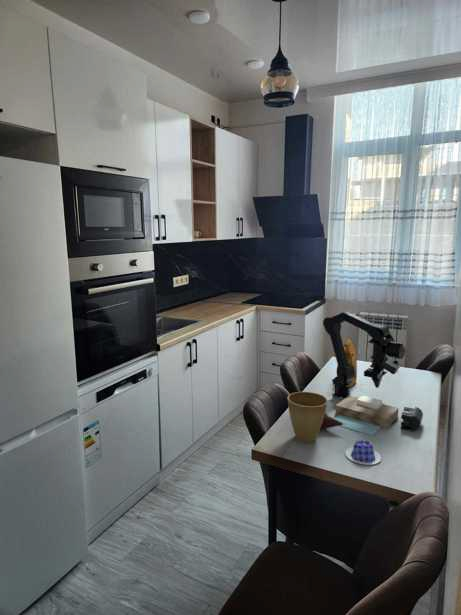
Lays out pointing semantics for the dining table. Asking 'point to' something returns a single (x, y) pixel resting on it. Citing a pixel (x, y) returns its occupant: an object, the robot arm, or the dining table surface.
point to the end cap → (411, 419)
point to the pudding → (363, 453)
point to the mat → (357, 425)
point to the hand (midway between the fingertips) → (377, 387)
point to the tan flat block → (367, 412)
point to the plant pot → (306, 414)
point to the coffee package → (351, 359)
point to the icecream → (329, 422)
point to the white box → (369, 402)
